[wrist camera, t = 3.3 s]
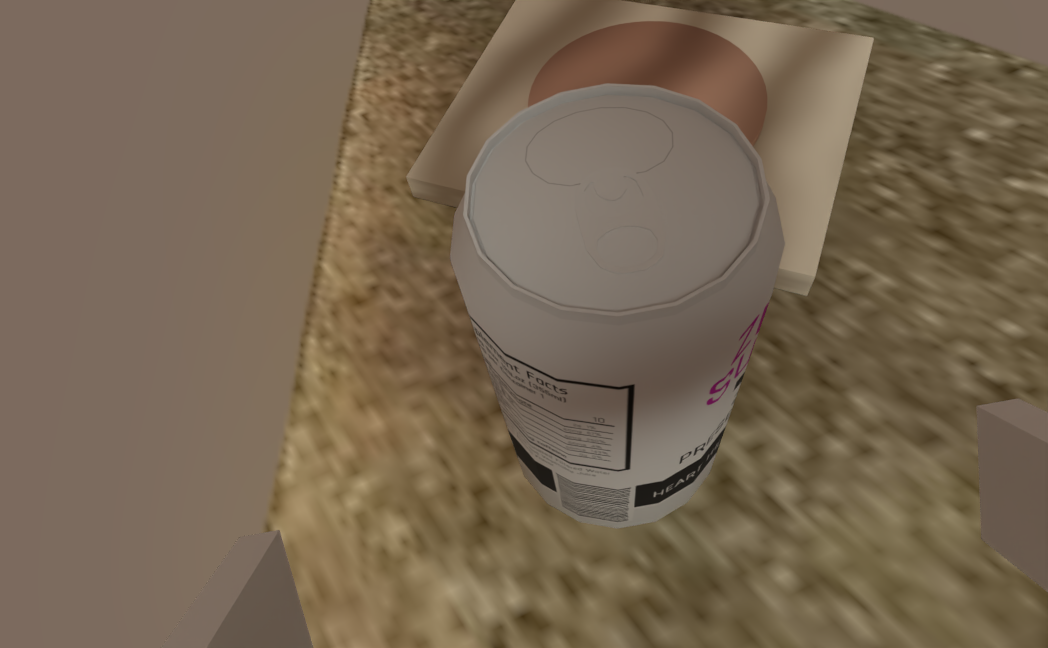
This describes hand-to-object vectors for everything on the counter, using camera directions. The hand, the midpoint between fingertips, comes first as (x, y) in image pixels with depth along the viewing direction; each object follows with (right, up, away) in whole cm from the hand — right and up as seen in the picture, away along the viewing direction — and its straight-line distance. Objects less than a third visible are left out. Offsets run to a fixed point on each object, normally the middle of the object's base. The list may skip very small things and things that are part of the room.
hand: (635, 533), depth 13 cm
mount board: (+4, +14, +24) cm, 29 cm away
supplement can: (+2, -1, +16) cm, 16 cm away
